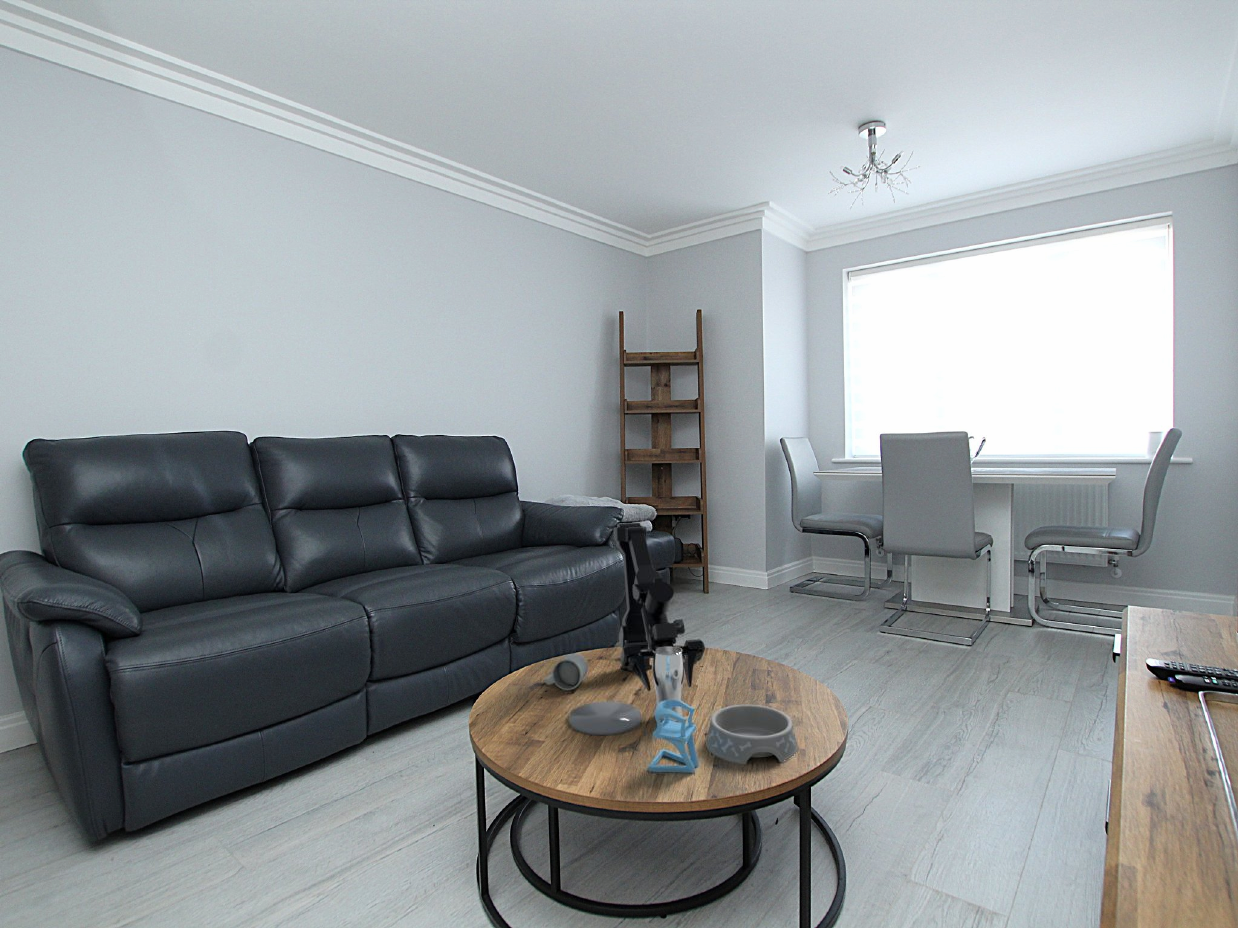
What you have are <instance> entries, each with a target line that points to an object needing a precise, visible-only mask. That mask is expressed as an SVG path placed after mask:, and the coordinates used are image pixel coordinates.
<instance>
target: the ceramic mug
mask: <svg viewBox="0 0 1238 928" xmlns="http://www.w3.org/2000/svg"><path fill="white" fill-rule="evenodd" d="M588 671H589V664H588V662H587V660H586V658H585V657H584V656H583V655H581V654H579V653H570V654H567V655H565V656H564V657H563V658H561V659H560V660H558V661H557V662H556V663H555V665H554V666H553V668H552V673H551V674H549V675H548V676H546V678H544V681H545V684H546V685H547V686H550V685H552V684H555V685H556V687H558V688H559V689H561V690H564V691H573V690H574V689H576V688H577V687H578V686H579V685H580V684H581V682H583V680H584V679H585V678H586V676H587V673H588Z"/></svg>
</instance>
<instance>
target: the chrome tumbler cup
mask: <svg viewBox="0 0 1238 928" xmlns="http://www.w3.org/2000/svg"><path fill="white" fill-rule="evenodd" d="M679 647H680V646H676V645H675V646H660V647H657V648H654V649H653V658H652V662H651V665H652V668H651V669H652V672H651V673H652V680H653V685H654V686H653V687H654V692H655V697H656V706H655V707H656V708H657V706H658V704H659V703H660V702H662V701H665V700H678V701H682V700H681V699H682V691H683V685H684V675H685V674H684V673H685V669H684V659H683V653H682V649H681V648H679ZM656 708H655V709H656ZM669 709H670V710H673V711H674V712H676V713H677V714H679V715H680V716H682V717H683V715H684V714H683V708H682V707H679V706H675V707H672V708H669ZM659 720H660V722H661V723H662V722H663V721H664V720H665V718H661V719H659ZM669 721H674V722H678V721H677V720H675V719H673V718H669Z"/></svg>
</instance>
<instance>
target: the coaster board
mask: <svg viewBox="0 0 1238 928" xmlns="http://www.w3.org/2000/svg"><path fill="white" fill-rule="evenodd" d="M568 723H569V726H570V727H571V728H572V729H573V730H575V731H577V732H580V733H583V734H587V735H591V736H592V735H594V736H612V735H620V734H623V733H628V732H630V731H632V730H634V729H636V728H637V727H638V726H640V725H641V723H642V712H641V710H640V709H639V708H638V707H636V706H635V705H632V704H629V703H625V702H620V701H609V700H608V701H606V700H605V701H595V702H590V703H585V704H582V705H580V706H578V707H576V708H574V709H573V710H572V711H570V713H569V715H568Z"/></svg>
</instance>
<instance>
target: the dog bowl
mask: <svg viewBox="0 0 1238 928" xmlns="http://www.w3.org/2000/svg"><path fill="white" fill-rule="evenodd" d="M709 721H710V722H709V725H708V726H709V727H708V731H707V735H706V738H705V746H706V748H707V750H708V751H709V752H710V753H711V754H713V755H714V756H715V757H718V758H720V759H722V760H724V761H728V762H730V763H731V762H732V763H734V764H738V765H739V764H740V765H747V763H748V760H749V759H750V758H767V757H771V756H775V757H776V758H777V759H778V761H779V763H780V762H782V763H784V762H783V761H784V760H787V759H789V758H791V757H792V756H794V754H797V753H798V752H799V744H798V741H797V738H796V732H795V728H794V724H793V721H792V719H791V718H790V717H789V716H788V715H787V714H785V712H783V711H780V710H778V709H775V708H773V707H769V706H765V705H759V704H758V705H756V704H736V705H735V704H734V705H729V706H726V707H723V708H720V709H718V710H716V711H715V712H713V714H712V715H711V717H710V720H709ZM797 751H798V752H797ZM796 752H797V753H796ZM792 758H793V757H792ZM792 758H791V759H792ZM789 760H790V759H789ZM787 761H788V760H787Z"/></svg>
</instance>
